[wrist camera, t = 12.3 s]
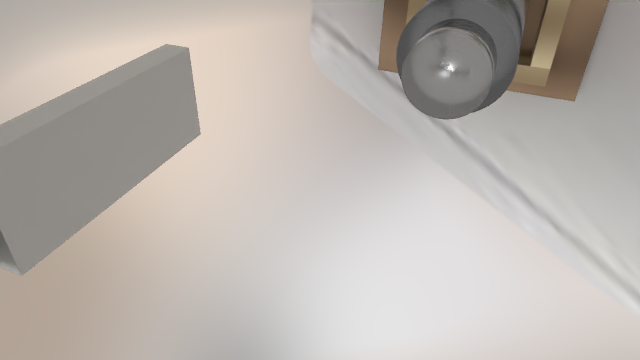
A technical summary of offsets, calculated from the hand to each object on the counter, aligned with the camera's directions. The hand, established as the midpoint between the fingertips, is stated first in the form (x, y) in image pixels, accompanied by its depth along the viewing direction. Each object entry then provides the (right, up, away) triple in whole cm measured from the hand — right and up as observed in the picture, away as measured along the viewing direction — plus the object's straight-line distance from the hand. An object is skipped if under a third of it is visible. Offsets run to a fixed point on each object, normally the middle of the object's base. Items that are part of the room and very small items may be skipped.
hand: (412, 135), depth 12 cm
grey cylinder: (+7, +9, +15) cm, 19 cm away
